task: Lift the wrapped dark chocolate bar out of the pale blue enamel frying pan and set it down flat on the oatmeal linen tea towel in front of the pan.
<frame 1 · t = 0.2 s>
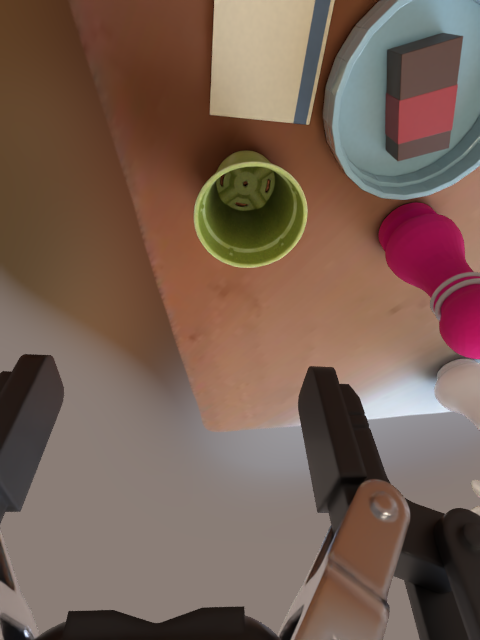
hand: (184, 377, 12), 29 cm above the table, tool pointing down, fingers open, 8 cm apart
pan: (409, 95, 32), on the table
pepper mill: (405, 227, 41), on the table
plant pot: (245, 180, 37), on the table
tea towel: (273, 1, 27), on the table
flower vase: (460, 367, 58), on the table
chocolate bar: (411, 96, 32), point 1 cm above the table, touching pan
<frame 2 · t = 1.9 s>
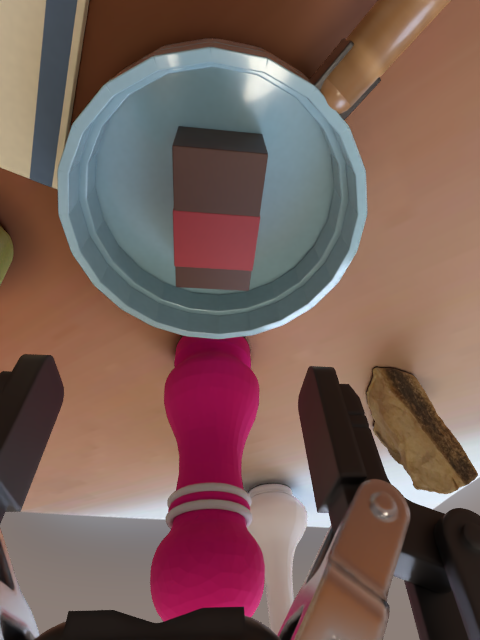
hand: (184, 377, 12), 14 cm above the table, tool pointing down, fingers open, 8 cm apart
pan: (216, 199, 22), on the table
pepper mill: (213, 349, 31), on the table
rock: (384, 399, 37), on the table
flower vase: (275, 489, 51), on the table
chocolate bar: (216, 203, 21), point 1 cm above the table, touching pan
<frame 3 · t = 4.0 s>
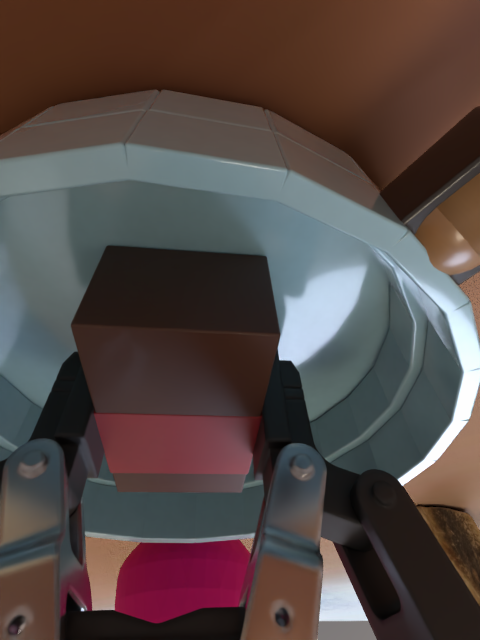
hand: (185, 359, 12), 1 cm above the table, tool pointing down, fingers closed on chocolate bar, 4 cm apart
pan: (188, 339, 13), on the table
pepper mill: (194, 493, 22), on the table
rock: (424, 530, 28), on the table
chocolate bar: (187, 350, 13), point 1 cm above the table, touching gripper, pan
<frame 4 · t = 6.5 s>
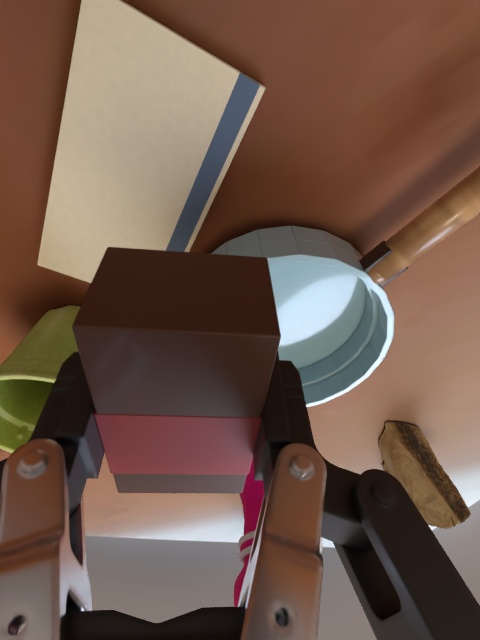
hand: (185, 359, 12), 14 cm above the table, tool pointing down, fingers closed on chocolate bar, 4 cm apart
pan: (277, 311, 29), on the table
pepper mill: (257, 408, 38), on the table
plant pot: (81, 330, 30), on the table
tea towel: (136, 185, 22), on the table
pan handle: (451, 211, 20), point 3 cm above the table
rock: (393, 444, 44), on the table
flower vase: (293, 515, 57), on the table
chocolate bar: (188, 350, 13), point 13 cm above the table, touching gripper
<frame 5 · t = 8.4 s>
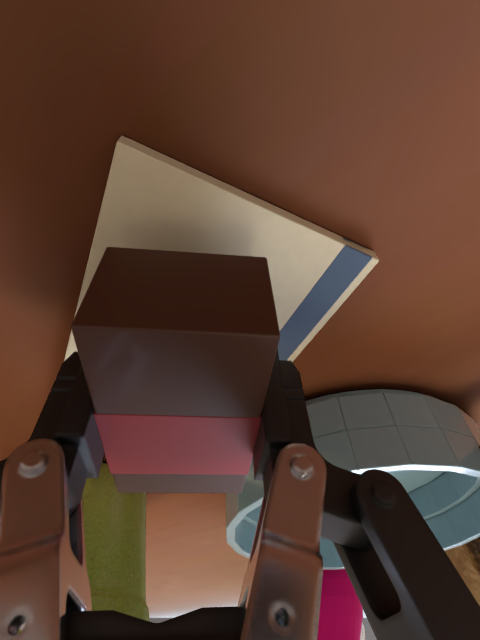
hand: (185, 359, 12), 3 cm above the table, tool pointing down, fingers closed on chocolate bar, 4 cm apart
pan: (345, 458, 23), on the table
pepper mill: (305, 529, 32), on the table
plant pot: (101, 478, 24), on the table
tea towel: (178, 356, 16), on the table
rock: (455, 550, 38), on the table
flower vase: (329, 599, 52), on the table
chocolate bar: (187, 350, 13), point 2 cm above the table, touching gripper
when the fingers open (1 cm above the table, at t = 9.4 s): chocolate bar stays where it is, resting on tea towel.
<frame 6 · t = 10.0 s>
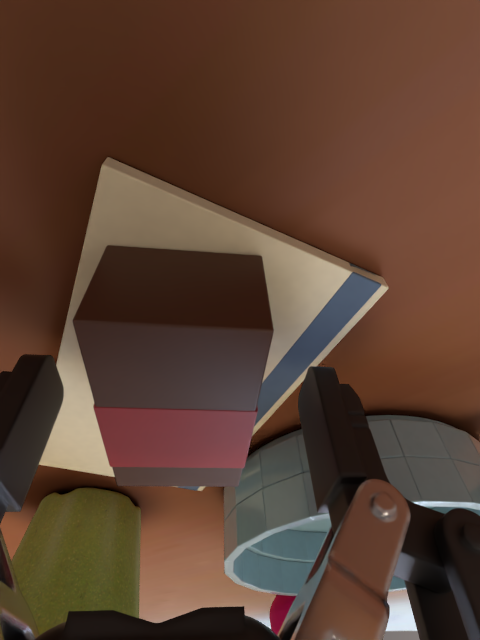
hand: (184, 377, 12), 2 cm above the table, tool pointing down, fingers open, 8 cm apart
pan: (348, 482, 22), on the table
pepper mill: (306, 550, 31), on the table
plant pot: (93, 502, 23), on the table
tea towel: (173, 383, 15), on the table
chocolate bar: (185, 347, 13), point 1 cm above the table, touching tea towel
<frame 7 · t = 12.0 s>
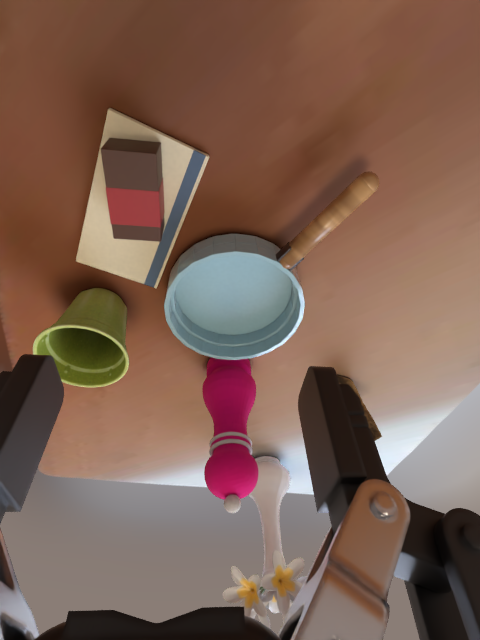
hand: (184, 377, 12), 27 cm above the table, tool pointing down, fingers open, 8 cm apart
pan: (233, 290, 43), on the table
pepper mill: (228, 364, 52), on the table
plant pot: (102, 305, 44), on the table
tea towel: (137, 211, 36), on the table
pan handle: (324, 224, 34), point 3 cm above the table
rock: (336, 395, 58), on the table
flower vase: (268, 461, 72), on the table
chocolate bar: (139, 185, 34), point 1 cm above the table, touching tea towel
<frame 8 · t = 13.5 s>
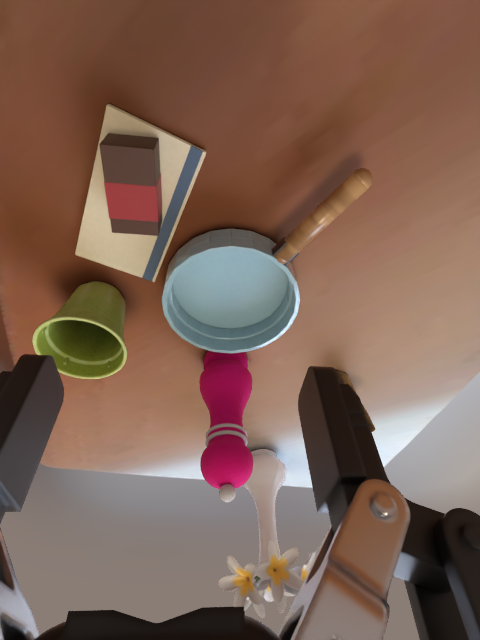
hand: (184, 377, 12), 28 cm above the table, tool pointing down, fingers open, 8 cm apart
pan: (230, 284, 44), on the table
pepper mill: (225, 358, 53), on the table
plant pot: (101, 298, 45), on the table
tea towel: (135, 205, 37), on the table
pan handle: (318, 219, 35), point 3 cm above the table
rock: (331, 389, 59), on the table
flower vase: (264, 454, 73), on the table
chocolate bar: (137, 180, 35), point 1 cm above the table, touching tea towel
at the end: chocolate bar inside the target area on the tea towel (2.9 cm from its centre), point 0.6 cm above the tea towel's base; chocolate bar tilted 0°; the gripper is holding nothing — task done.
